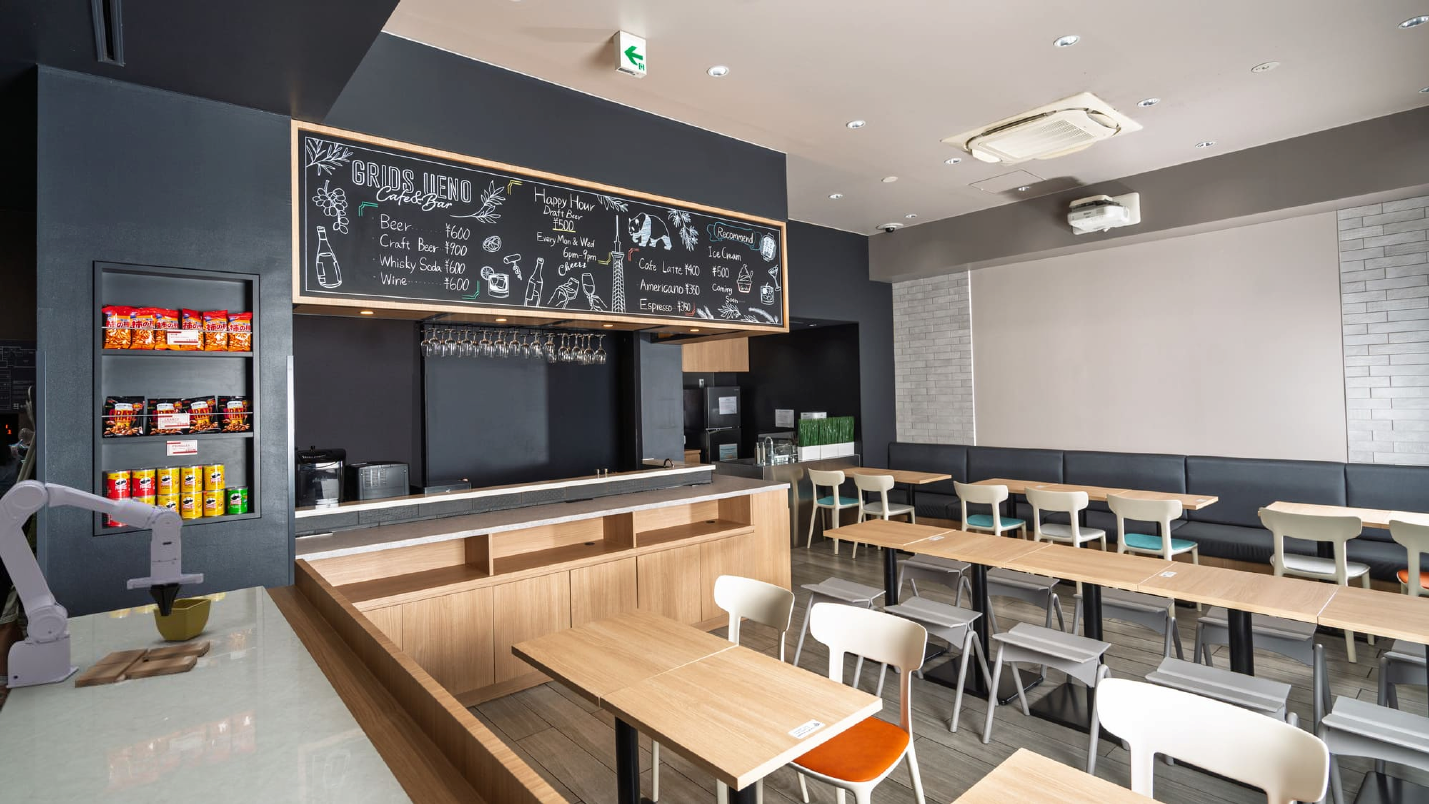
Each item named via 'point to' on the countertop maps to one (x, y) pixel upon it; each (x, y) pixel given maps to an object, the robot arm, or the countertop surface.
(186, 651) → the plank far
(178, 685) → the countertop surface
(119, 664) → the laid floor
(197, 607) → the flower pot
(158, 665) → the plank near
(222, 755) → the countertop surface
